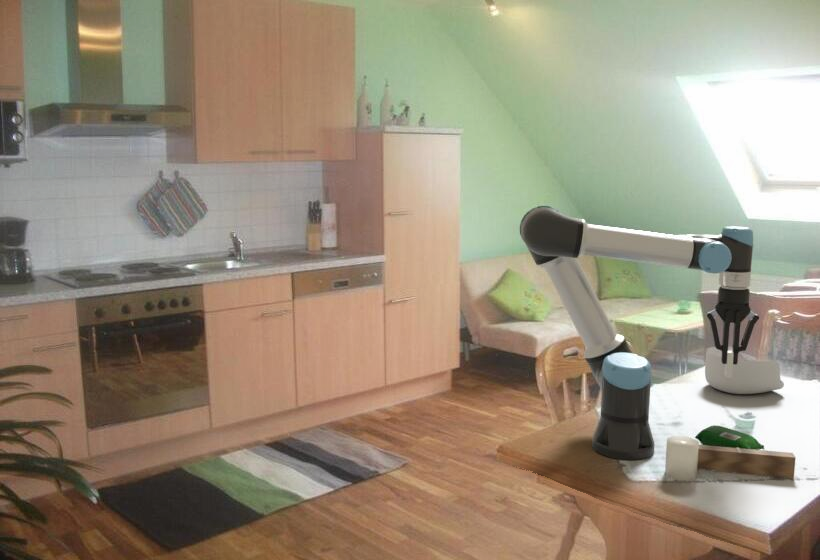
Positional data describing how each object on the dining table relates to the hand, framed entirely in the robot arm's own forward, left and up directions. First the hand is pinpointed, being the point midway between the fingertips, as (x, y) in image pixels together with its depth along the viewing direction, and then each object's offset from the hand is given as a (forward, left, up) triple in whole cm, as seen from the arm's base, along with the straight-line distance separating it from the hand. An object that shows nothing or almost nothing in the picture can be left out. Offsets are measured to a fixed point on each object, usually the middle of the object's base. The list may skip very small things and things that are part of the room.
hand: (728, 375), depth 215 cm
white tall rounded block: (-13, -31, -16) cm, 37 cm away
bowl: (+9, +45, -16) cm, 49 cm away
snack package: (-1, -12, -16) cm, 21 cm away
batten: (+1, -26, -16) cm, 30 cm away
